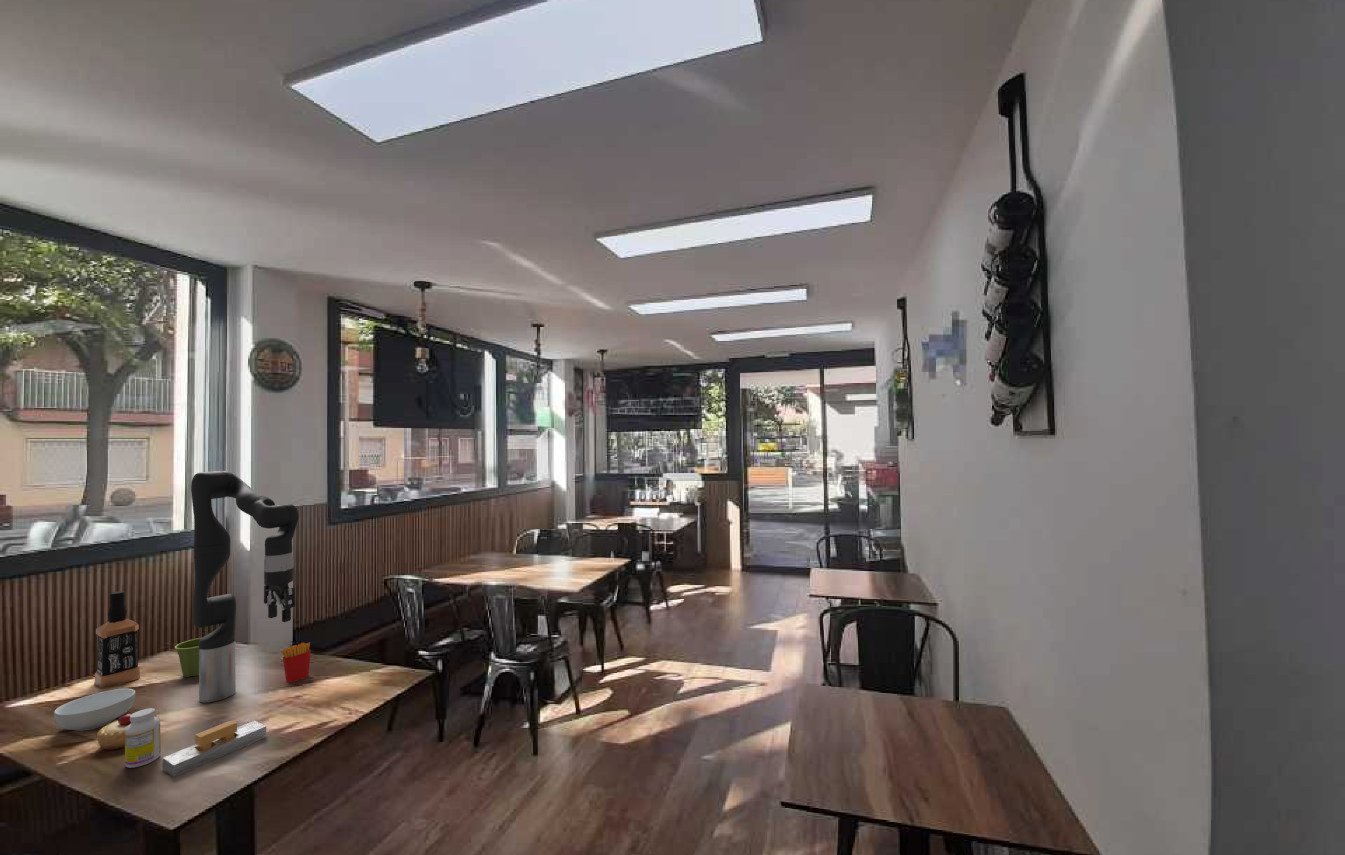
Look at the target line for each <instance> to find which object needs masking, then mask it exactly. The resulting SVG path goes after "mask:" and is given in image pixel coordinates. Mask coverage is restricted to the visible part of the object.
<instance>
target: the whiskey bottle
mask: <svg viewBox="0 0 1345 855" xmlns="http://www.w3.org/2000/svg"><path fill="white" fill-rule="evenodd" d="M125 594H126V592H125V591H123V590H120V591H119V590H118V591H113V592H111V593H110V595H109V603H110V605H109V608H108V611H107V612H108V613H107V617H108V621H107V622H105V623H103V624H102V625H100V626H98V627H97V628H95V635H97V652H96V654H97V655H96V672H95V673H94V684H95V685H96V687H98V688H99V689H100V690H102V689H103V690H104V689H108V688H111V687H115V686H119V685H122V684H125V683H129V682H133V681H135V680H139V679H141V672H140V667H139V665H138V664H139V663H138V662H139V661H138V656H139V655H138V633H137V631H138V630H139V628H140V626H139V625H140V624H139V623H137V622H135V621H134V620H131V619H128V618H127V613H128V611H127V606H126V604H125V601H126V598H125V597H126V595H125Z"/></svg>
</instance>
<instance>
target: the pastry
mask: <svg viewBox="0 0 1345 855" xmlns="http://www.w3.org/2000/svg"><path fill="white" fill-rule="evenodd" d="M126 710H127V712H128V714H126V713H125V714H123V715H121V716H119V717H118V718H117V719H114V720H113V721H112V722H110V723H109V724H106V725H104V726H101V727H100V728H101V729H99V731H98V732H97V733H96V739H97V740H96V741H97V742H98V744H99V746H100V747H101V748H102V749H104V750H109V751H110V750H112V751H113V750H119V749H123V748H124V749H125V729H126V728H127V727H128V726H129V725H130V724H131V721H130V715H132V714H133V713H134V712H132V713H131V712H130V711H129V710H128V709H127V708H126ZM154 717H157V718H158V716H157V715H156V714H155V715H154Z"/></svg>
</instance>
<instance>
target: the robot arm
mask: <svg viewBox="0 0 1345 855" xmlns="http://www.w3.org/2000/svg"><path fill="white" fill-rule="evenodd" d="M190 492H191V494H190V495H191V502H192V504H191V505H192V510H193V512H192V514H193V522H194V523H193V524H194V525H193V527H194V528H193V530H194V532H193V534H194V536H193V564H194V565H193V566H194V585H193V586H194V587H193V588H194V589H193V599H192V615H191V616H192V623H193V626H194V627H195V628H198V629H200V628H201V629H202V628H206V627H210V626H216V625H219V624H220V626H218V627H217V628H216V629H214V630H213V631H212V632H211V631H210V633H207V634H206V635H204V636H202V637H200V638H201V639H200V640H199V675H198V702H200V703H212V702H218V701H222V700H223V699H226V698H230V697H231V696H233V695H235V693H236V690H237V689H236V688H237V686H236V685H237V684H236V683H237V682H236V679H237V678H236V618H237V599H236V597H235V595H234V594H233V593H226V594H220V595H215V596H211V597H208V595H209V591H210V588H211V586H212V584H213V583H214V581H215V579H216V578H217V577H218V574H219V573H220V572H221V571H222V570H223V568H224V567H225V566H226V563H228V561H229V559H230V557H231V535H230V532H228V530H227V529H226V528H225V527H224V525H223V524H222V523H221V522H220V521H219V519H218V518H217V517H216V515H215V513H214V511H213V505H212V500H217V499H224V498H232V499H235V505H236V506H237V508H238V510H240V511H242V512H243V513H245V514H246V515H249V516H251V517H252V519H253V520H254V521H255V522H256V523H257V525H258V526H259V527H261V528H264V529H276V528H278V530H277V531H276V533H274V534H271V535H270V536H267V537H266V538H265V539H264V560H263V561H264V562H263V580H264V582H263V584H264V587H263V603H264V604H265V605H266V607H267V618H269V619H275V618H276V617H278V605H279V606H280V608H281V622H282V623H287V622H291V620H292V609H293V608H295V607H296V593H295V592H296V589H295V587H291V588H290V587H289V584H290V583H292V582H293V581H294V580H295V578H294V574H295V573H294V572H295V571H294V570H295V569H294V565H295V564H294V563H295V562H294V553H293V540H294V539H293V538H294V536H295V531H296V528H297V524H298V522H299V516H300V515H299V510H298V508H297V506H295V505H294V504H293V503H286V504H277V505H276V504H275V501H273V499H272V498H270V497H268V496H266V495H264V494H261V493H260V492H258V491H256V490H254V489H253V488H251V487H250V486H249V485H248V484H247V483H246V482H245V481H243V480H242V479H241V478H240V477H239V476H238V475H237V474H235V473H233V472H232V471H228V470H213V471H202V472H201V471H200V472H197V473H196V474H194V475H193V476H192V480H191V484H190Z"/></svg>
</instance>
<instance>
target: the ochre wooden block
mask: <svg viewBox="0 0 1345 855" xmlns="http://www.w3.org/2000/svg"><path fill="white" fill-rule="evenodd" d="M237 727H238V721H237V722H236V721H235V720H233V719H231V720H230V721H225V722H223V723H221V724H219V725H215V726H214V727H210V728H208V729H206V730H203V731H201V732H199V733H195V743H194V745H195V744H197V745H199V751H203V750H205V749H207V748H210V747H211V742H213V741H215V740H217V739H220V738H222V741H227V740H229V739H231V738H234V732H237Z"/></svg>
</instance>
